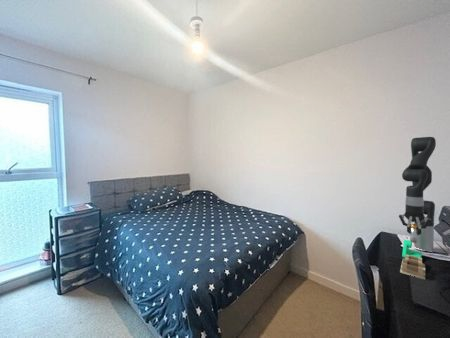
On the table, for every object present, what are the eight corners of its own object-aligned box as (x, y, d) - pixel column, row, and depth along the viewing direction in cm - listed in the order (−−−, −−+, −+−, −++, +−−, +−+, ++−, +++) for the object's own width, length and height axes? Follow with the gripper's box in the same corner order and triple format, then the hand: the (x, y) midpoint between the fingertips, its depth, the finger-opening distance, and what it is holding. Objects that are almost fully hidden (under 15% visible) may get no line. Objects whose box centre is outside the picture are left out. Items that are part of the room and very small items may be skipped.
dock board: (402, 260, 121) (402, 252, 121) (425, 265, 115) (425, 257, 114) (400, 272, 108) (400, 263, 108) (425, 279, 102) (425, 270, 101)
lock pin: (409, 240, 118) (410, 223, 117) (418, 241, 115) (418, 224, 115) (409, 242, 115) (409, 224, 115) (417, 243, 113) (418, 226, 112)
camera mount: (419, 263, 118) (419, 246, 118) (402, 258, 124) (402, 242, 123) (422, 256, 126) (422, 240, 125) (405, 252, 132) (406, 237, 131)
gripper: (432, 204, 112) (431, 235, 113) (398, 201, 122) (398, 229, 123) (432, 207, 107) (431, 239, 107) (397, 203, 117) (397, 232, 117)
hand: (413, 233), depth 115 cm, fingers closed on lock pin, 3 cm apart
